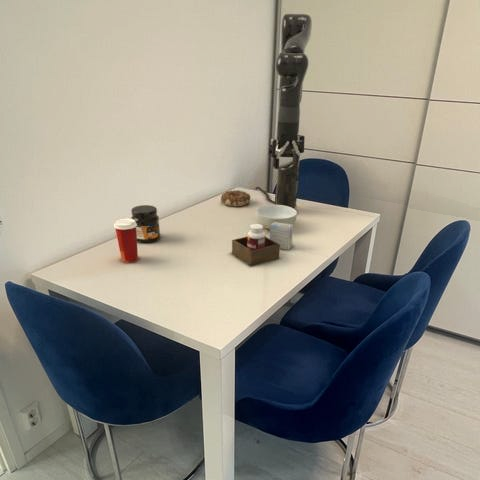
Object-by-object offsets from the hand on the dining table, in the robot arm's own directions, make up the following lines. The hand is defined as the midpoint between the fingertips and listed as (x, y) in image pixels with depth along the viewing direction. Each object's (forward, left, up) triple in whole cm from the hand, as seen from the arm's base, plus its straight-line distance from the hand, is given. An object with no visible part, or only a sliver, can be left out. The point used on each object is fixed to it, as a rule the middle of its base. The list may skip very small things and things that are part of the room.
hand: (285, 167), depth 167 cm
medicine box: (+7, -6, -28) cm, 29 cm away
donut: (-47, +8, -28) cm, 55 cm away
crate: (+9, -19, -28) cm, 35 cm away
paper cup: (-12, -59, -28) cm, 66 cm away
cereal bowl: (-11, +5, -28) cm, 30 cm away
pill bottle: (+9, -19, -27) cm, 34 cm away
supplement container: (-27, -46, -28) cm, 60 cm away
